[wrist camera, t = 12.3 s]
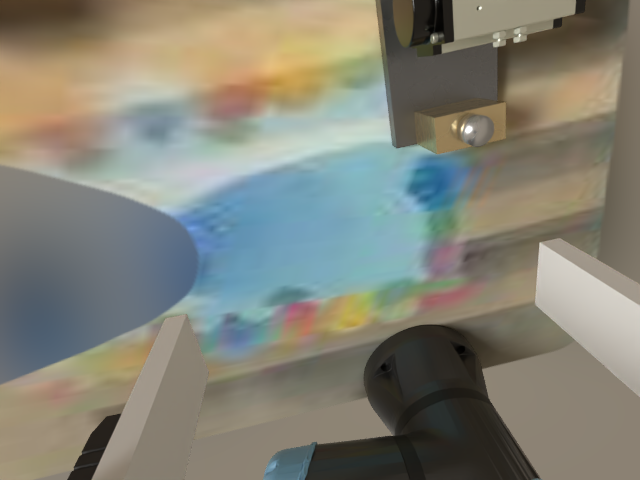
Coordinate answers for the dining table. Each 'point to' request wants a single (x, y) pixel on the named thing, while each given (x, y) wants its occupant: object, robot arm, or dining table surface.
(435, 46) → the pneumatic valve
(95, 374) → the dining table surface
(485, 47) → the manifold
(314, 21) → the dining table surface
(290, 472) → the robot arm
